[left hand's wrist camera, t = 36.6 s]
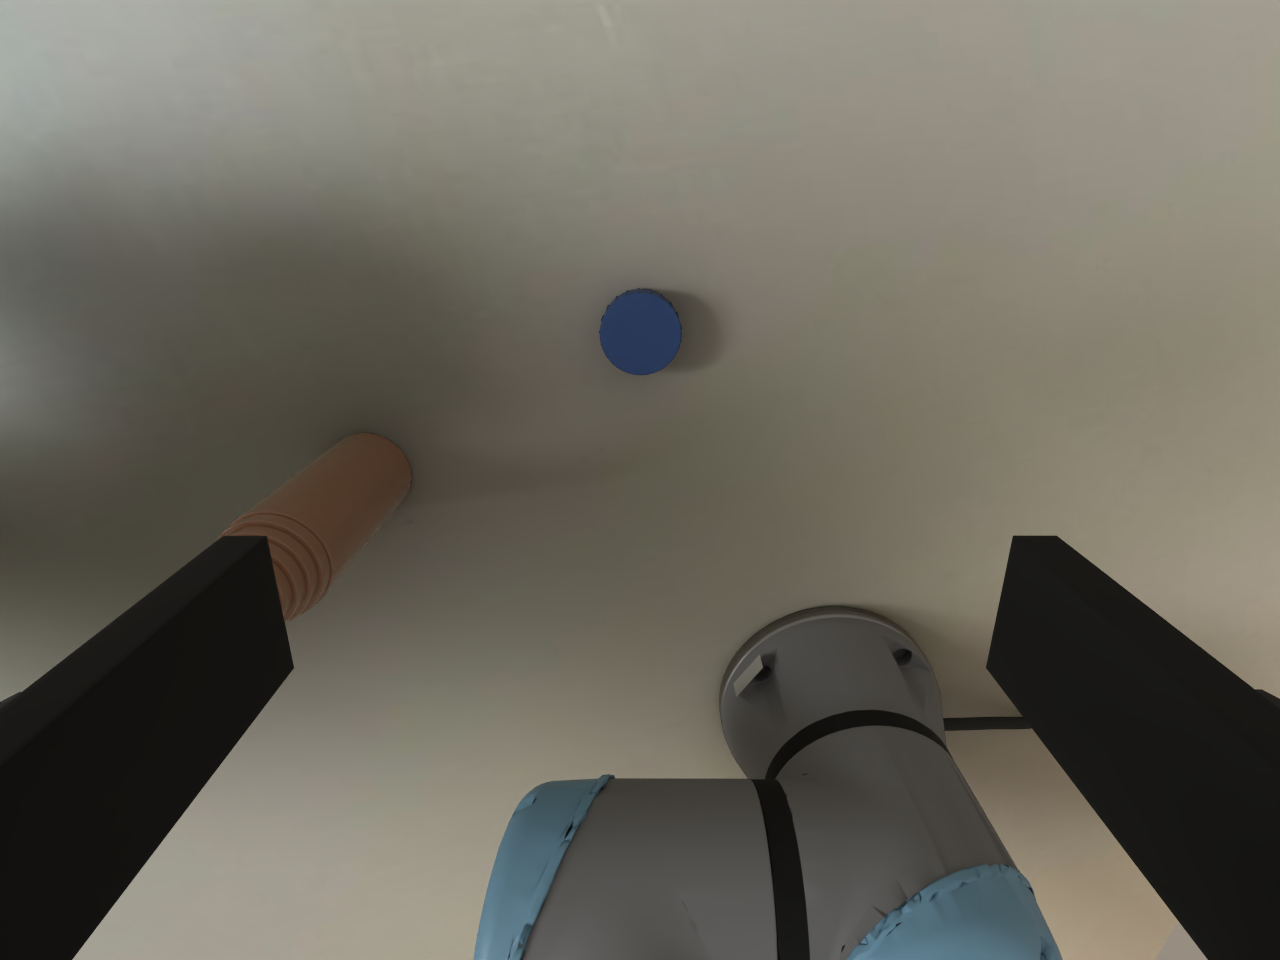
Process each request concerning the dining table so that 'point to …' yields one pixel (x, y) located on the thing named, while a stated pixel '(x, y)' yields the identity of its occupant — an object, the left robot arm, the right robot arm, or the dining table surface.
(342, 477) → the bottle
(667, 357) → the cap
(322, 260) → the dining table surface
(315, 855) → the dining table surface
